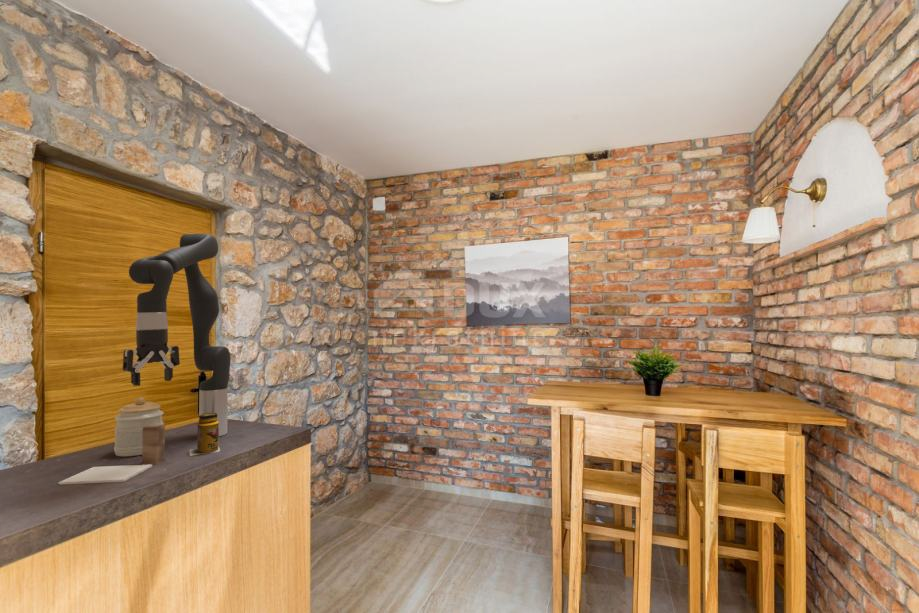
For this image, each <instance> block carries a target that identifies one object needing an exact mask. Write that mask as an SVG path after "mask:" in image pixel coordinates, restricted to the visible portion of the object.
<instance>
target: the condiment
mask: <svg viewBox="0 0 919 613" xmlns="http://www.w3.org/2000/svg"><path fill="white" fill-rule="evenodd" d="M217 416H218V415H217V413H205V414H201V415H200V416H198V423H197V435H196V436H197V438H196V439H197V441H196V442H197V444H196V448H193V449H192V448H191V449H189V457H191V456H197V455H205V454H214V453H219V452H221V449H220V446H219V444H220V442H219V441H220V440H219V439H220V438H219V437H220V436H219V422H218V421H217V419H218V418H217Z"/></svg>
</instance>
